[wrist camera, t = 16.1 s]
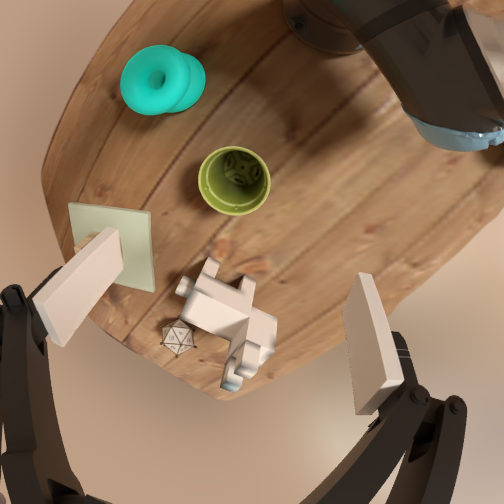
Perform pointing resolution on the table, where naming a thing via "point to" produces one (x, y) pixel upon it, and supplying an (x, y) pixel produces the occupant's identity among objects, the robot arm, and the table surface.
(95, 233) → the bead
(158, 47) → the donuts
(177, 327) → the game die
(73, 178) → the table surface
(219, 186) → the plant pot
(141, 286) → the stand
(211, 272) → the toy llama
